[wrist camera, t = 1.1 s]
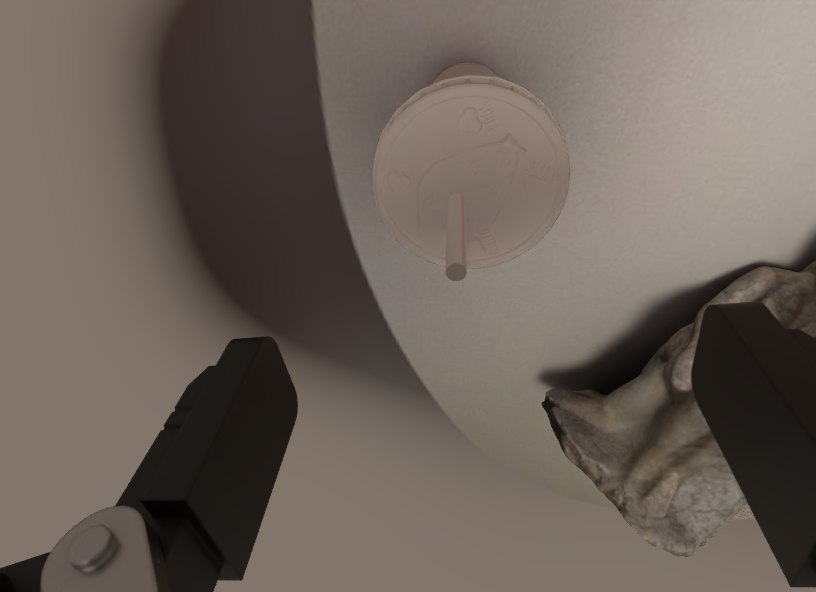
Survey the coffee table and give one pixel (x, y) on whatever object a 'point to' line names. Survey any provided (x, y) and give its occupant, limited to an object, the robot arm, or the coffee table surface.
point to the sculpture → (671, 427)
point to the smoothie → (470, 171)
